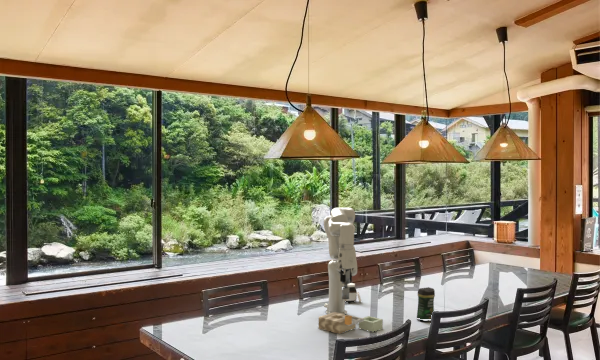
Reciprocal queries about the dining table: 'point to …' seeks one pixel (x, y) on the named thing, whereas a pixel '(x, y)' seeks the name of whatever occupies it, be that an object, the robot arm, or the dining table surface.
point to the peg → (346, 285)
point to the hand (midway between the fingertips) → (345, 280)
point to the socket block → (334, 323)
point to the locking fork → (352, 320)
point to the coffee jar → (425, 303)
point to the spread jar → (353, 293)
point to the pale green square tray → (371, 324)
